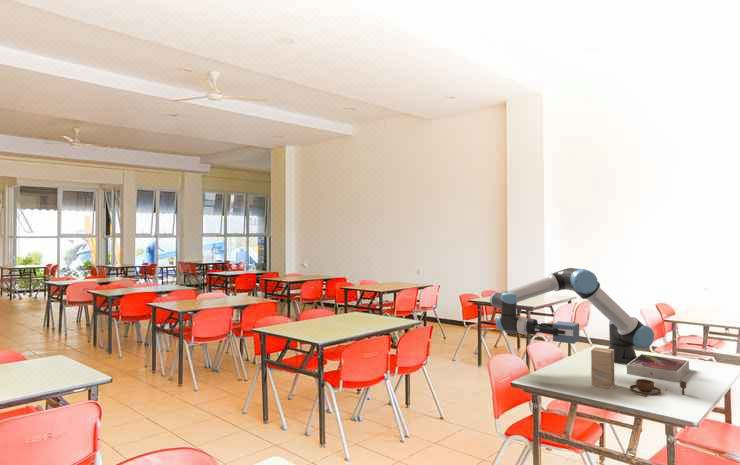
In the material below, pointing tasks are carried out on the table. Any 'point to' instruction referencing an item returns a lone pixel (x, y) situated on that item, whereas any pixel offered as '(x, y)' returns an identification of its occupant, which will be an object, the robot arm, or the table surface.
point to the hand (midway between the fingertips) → (575, 331)
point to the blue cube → (568, 326)
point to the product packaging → (658, 367)
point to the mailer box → (602, 367)
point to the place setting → (650, 387)
